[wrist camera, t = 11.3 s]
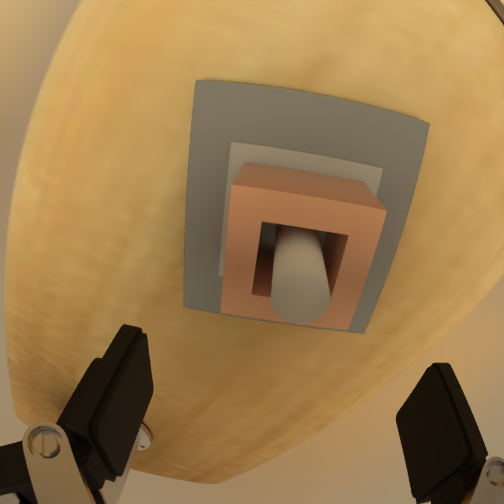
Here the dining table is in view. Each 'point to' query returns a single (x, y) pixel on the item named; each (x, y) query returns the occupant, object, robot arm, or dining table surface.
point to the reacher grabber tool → (497, 8)
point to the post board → (302, 158)
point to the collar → (306, 216)
